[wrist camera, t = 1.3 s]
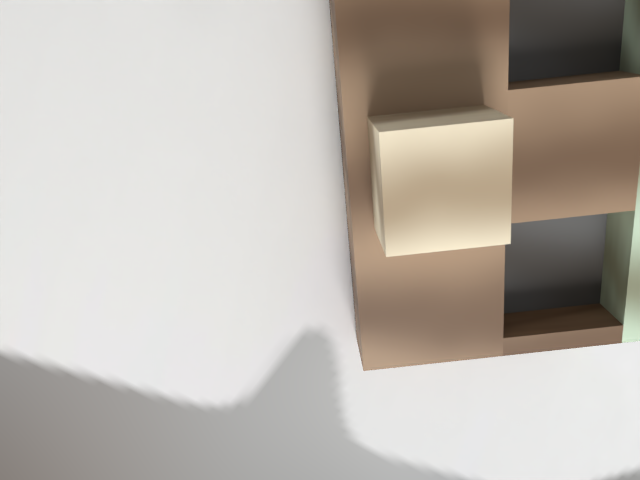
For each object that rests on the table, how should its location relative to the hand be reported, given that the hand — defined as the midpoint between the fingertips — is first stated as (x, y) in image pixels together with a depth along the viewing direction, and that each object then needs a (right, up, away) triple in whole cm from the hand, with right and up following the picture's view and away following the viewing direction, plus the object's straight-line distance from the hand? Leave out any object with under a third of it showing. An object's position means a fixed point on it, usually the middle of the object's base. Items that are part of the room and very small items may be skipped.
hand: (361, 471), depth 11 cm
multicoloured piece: (+10, +9, +18) cm, 23 cm away
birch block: (+4, +7, +15) cm, 17 cm away
